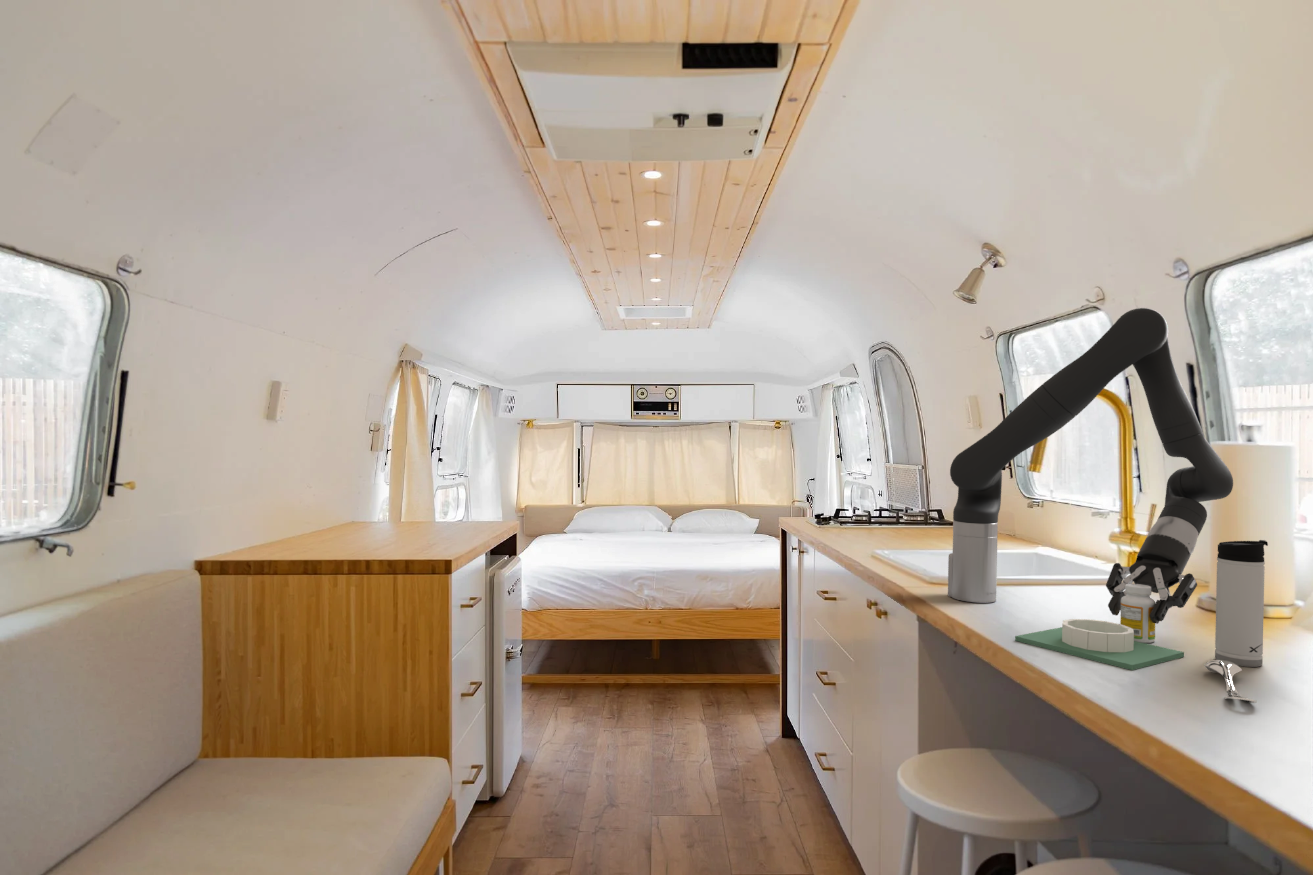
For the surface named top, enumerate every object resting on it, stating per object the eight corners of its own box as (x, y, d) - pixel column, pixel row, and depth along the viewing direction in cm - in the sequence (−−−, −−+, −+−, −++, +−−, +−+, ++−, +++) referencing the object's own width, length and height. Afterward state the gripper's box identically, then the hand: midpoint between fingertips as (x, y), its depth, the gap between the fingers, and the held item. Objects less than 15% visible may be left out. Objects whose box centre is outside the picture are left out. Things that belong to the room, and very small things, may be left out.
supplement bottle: (1145, 636, 145) (1146, 583, 145) (1161, 644, 140) (1162, 588, 140) (1114, 635, 146) (1115, 582, 146) (1128, 642, 140) (1130, 587, 140)
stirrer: (1266, 685, 104) (1222, 680, 107) (1266, 713, 104) (1222, 707, 106) (1238, 659, 122) (1201, 654, 124) (1238, 682, 122) (1201, 677, 124)
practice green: (1015, 640, 140) (1015, 619, 140) (1067, 630, 149) (1067, 610, 149) (1132, 670, 123) (1132, 645, 123) (1184, 656, 132) (1184, 633, 132)
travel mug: (1267, 670, 125) (1270, 542, 125) (1216, 663, 128) (1218, 539, 128) (1262, 660, 130) (1265, 539, 130) (1213, 654, 134) (1216, 535, 134)
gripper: (1121, 528, 153) (1085, 595, 147) (1204, 537, 141) (1168, 611, 134) (1135, 554, 156) (1100, 621, 149) (1218, 565, 143) (1183, 638, 137)
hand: (1133, 616), depth 142 cm, fingers open, 6 cm apart
